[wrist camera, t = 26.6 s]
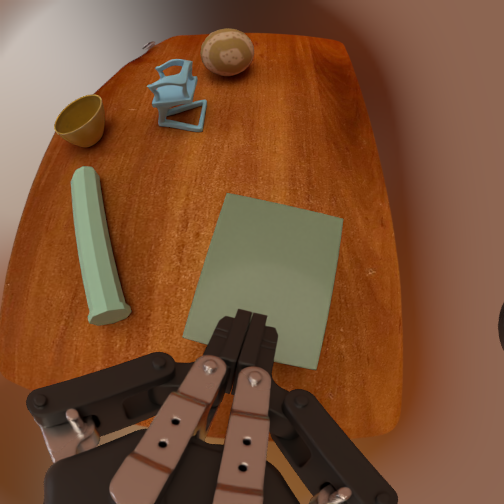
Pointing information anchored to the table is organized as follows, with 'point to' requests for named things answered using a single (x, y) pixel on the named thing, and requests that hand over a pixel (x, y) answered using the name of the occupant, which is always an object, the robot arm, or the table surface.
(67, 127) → the flower pot
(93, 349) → the table surface
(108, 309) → the green rod
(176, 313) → the table surface
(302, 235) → the lid
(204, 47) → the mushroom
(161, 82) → the chair
